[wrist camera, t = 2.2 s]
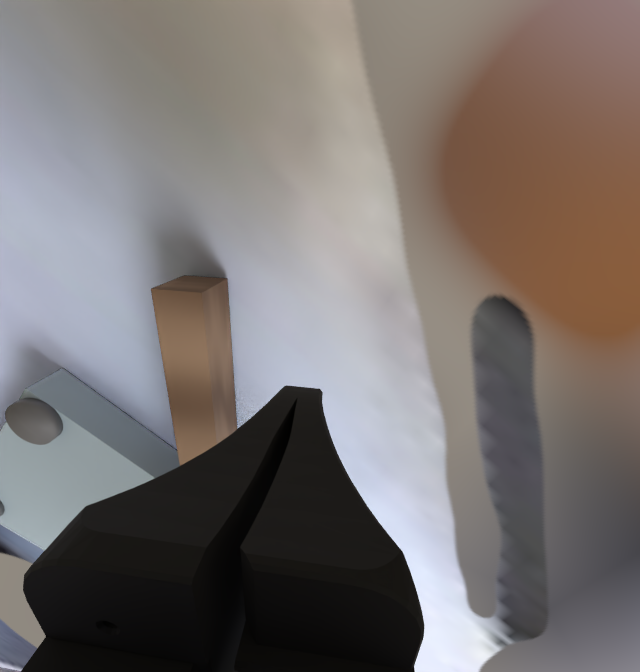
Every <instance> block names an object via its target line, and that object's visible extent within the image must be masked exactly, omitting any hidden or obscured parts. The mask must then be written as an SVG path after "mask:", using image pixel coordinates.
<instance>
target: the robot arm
mask: <svg viewBox="0 0 640 672" xmlns="http://www.w3.org/2000/svg"><path fill="white" fill-rule="evenodd" d="M23 591H24V594H25V597H26V599H27V602H28V603H29V605H30V607H31V609H32V611H33V613H34V615H35V617H36V618H37V620H38V622H39V624H40V626H41V628H42V630H43V631H44V633H45V635H46V638H45V639H44V640H43V642H42V643H41V645H40V646H39V647H38V649H37V650H36V651H35V653H34V654H33V656H32V657H31V658H30V660H29V661H28V663H27V664H26V665H25V667H24V668H23V669H22V671H17V670H12V669H7V668H1V667H0V672H415V671H414V664H415V661H416V658H417V655H418V652H419V649H420V646H421V643H422V640H423V636H424V621H423V615H422V610H421V606H420V602H419V599H418V595H417V591H416V588H415V585H414V582H413V579H412V576H411V573H410V570H409V567H408V565H407V562H406V559H405V557H404V554H403V552H402V551H401V549H400V548H399V547H398V546H397V545H396V543H395V542H394V541H393V540H392V539H391V537H390V536H389V535H388V534H387V532H386V531H385V530H384V528H383V527H382V526H381V525H380V523H379V522H378V521H377V519H376V518H375V516H374V515H373V514H372V512H371V511H370V509H369V508H368V507H367V505H366V504H365V502H364V500H363V499H362V497H361V496H360V494H359V493H358V491H357V489H356V488H355V486H354V485H353V483H352V481H351V480H350V478H349V476H348V474H347V472H346V470H345V468H344V466H343V464H342V462H341V460H340V458H339V456H338V454H337V451H336V449H335V447H334V444H333V441H332V439H331V436H330V433H329V430H328V427H327V423H326V420H325V416H324V412H323V406H322V391H321V390H320V389H315V388H305V387H295V386H285V387H283V388H282V389H281V390H280V391H279V392H278V393H277V394H276V395H275V396H274V397H273V398H272V399H271V400H270V401H269V402H268V403H267V404H266V405H265V406H264V407H263V408H262V409H261V410H259V411H258V412H257V413H256V414H255V415H254V416H253V417H252V418H251V419H249V420H248V421H247V422H246V423H244V424H243V425H242V426H241V427H239V428H238V429H237V430H236V431H235V432H233V433H232V434H231V435H229V436H228V437H227V438H225V439H224V440H222V441H221V442H219V443H218V444H216V445H215V446H213V447H212V448H210V449H209V450H207V451H205V452H204V453H202V454H200V455H198V456H197V457H195V458H193V459H191V460H190V461H188V462H186V463H184V464H182V465H181V466H179V467H177V468H175V469H173V470H171V471H169V472H167V473H165V474H163V475H161V476H159V477H157V478H154V479H152V480H150V481H148V482H146V483H143V484H141V485H139V486H136V487H134V488H132V489H129V490H127V491H124V492H122V493H119V494H116V495H114V496H111V497H109V498H106V499H104V500H101V501H98V502H96V503H93V504H90V505H87V506H85V507H84V508H83V509H82V510H81V511H80V512H79V514H78V515H77V516H76V517H75V518H74V519H73V520H72V521H71V522H70V523H69V524H68V525H67V526H66V527H65V529H64V530H63V531H62V532H61V533H60V534H59V535H58V536H57V538H56V539H55V540H54V541H53V542H52V543H51V544H50V545H49V546H48V548H47V549H46V550H45V551H44V552H43V553H42V554H41V555H40V557H39V558H38V559H37V560H36V561H35V562H34V563H33V564H32V565H31V567H30V568H29V569H28V571H27V572H26V573H25V575H24V584H23Z"/></svg>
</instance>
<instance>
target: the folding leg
mask: <svg viewBox="0 0 640 672" xmlns="http://www.w3.org/2000/svg"><path fill="white" fill-rule="evenodd" d="M151 293H152V299H153V305H154V311H155V317H156V323H157V329H158V335H159V342H160V348H161V354H162V360H163V366H164V372H165V378H166V384H167V391H168V397H169V403H170V409H171V415H172V421H173V427H174V433H175V440H176V446H177V452H178V458H179V464H180V466H181V465H182V464H184V463H186V462H188V461H190V460H191V459H193V458H195V457H197V456H198V455H200V454H202V453H204V452H205V451H207V450H209V449H210V448H212V447H213V446H215V445H216V444H218V443H219V442H221V441H222V440H224V439H225V438H227V437H228V436H229V435H231V434H232V433H233V432H235V431H236V430H237V419H236V404H235V389H234V373H233V358H232V343H231V328H230V312H229V297H228V282H227V279H225V278H212V277H199V276H186V275H184V276H182V277H179V278H177V279H174V280H172V281H169V282H167V283H164V284H162V285H159V286H157V287H154V288H152V289H151Z"/></svg>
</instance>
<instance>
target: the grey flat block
mask: <svg viewBox="0 0 640 672" xmlns="http://www.w3.org/2000/svg"><path fill="white" fill-rule="evenodd" d="M5 417H6V423H5V424H4V426H3V428H2V429H1V431H0V524H1V525H2V526H4V527H6V528H7V529H9V530H11V531H12V532H14V533H16V534H17V535H19V536H21V537H22V538H24V539H26V540H28V541H29V542H31V543H33V544H34V545H36V546H38V547H39V548H41V549H43V550H44V551H45V550H46V549H47V548H48V546H49V545H50V544H51V543H52V542H53V541H54V540H55V539H56V538H57V536H58V535H59V534H60V533H61V532H62V531H63V530H64V529H65V527H66V526H67V525H68V524H69V523H70V522H71V521H72V520H73V519H74V518H75V517H76V516H77V515H78V514H79V512H80V511H81V510H82V509H83V508H84V507H85V506H87V505H90V504H93V503H96V502H98V501H101V500H104V499H106V498H109V497H111V496H114V495H116V494H119V493H122V492H124V491H127V490H129V489H132V488H134V487H136V486H139V485H141V484H143V483H146V482H148V481H150V480H152V479H154V478H157V477H159V476H161V475H163V474H165V473H167V472H169V471H171V470H173V469H175V468H177V467H179V466H180V464H179V458H178V452H177V450H175V449H174V448H172V447H171V446H170V445H168V444H167V443H166V442H164V441H163V440H161V439H160V438H159V437H157V436H156V435H154V434H153V433H152V432H150V431H149V430H148V429H146V428H145V427H143V426H142V425H141V424H139V423H138V422H137V421H135V420H134V419H132V418H131V417H130V416H128V415H127V414H125V413H124V412H123V411H121V410H120V409H119V408H117V407H116V406H114V405H113V404H112V403H110V402H109V401H108V400H106V399H105V398H103V397H102V396H101V395H99V394H98V393H97V392H95V391H94V390H92V389H91V388H90V387H88V386H87V385H85V384H84V383H83V382H81V381H80V380H79V379H77V378H76V377H74V376H73V375H72V374H70V373H69V372H68V371H66V370H65V369H63V368H62V369H60V370H58V371H56V372H55V373H53V374H51V375H49V376H47V377H46V378H44V379H42V380H40V381H38V382H36V383H35V384H33V385H31V386H29V387H27V388H26V389H25V390H24V392H23V394H22V396H21V397H20V399H19V401H17V402H16V403H14V404H12V405H10V406H9V407H8V408H7V410H6V413H5Z"/></svg>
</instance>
